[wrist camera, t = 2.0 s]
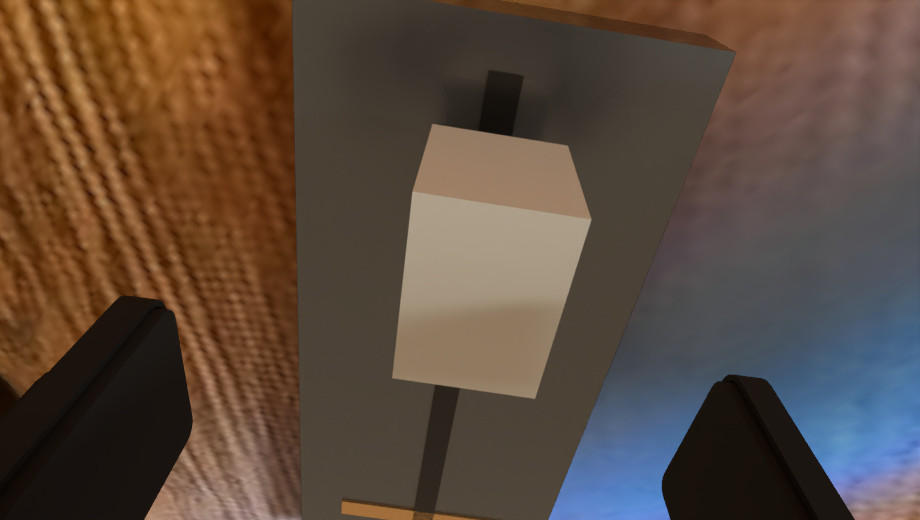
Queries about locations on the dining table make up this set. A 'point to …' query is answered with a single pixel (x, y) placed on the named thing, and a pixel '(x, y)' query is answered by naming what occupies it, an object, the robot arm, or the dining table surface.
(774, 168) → the dining table surface
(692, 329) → the dining table surface
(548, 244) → the fader knob
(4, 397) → the supplement bottle
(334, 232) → the fader console
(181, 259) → the dining table surface
